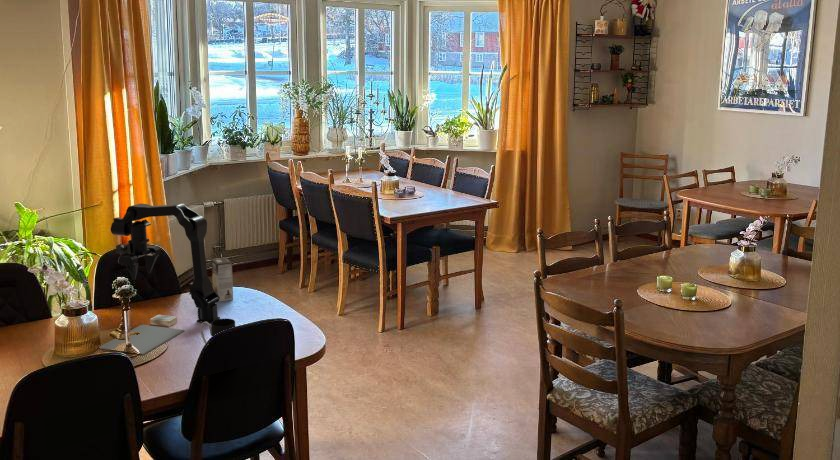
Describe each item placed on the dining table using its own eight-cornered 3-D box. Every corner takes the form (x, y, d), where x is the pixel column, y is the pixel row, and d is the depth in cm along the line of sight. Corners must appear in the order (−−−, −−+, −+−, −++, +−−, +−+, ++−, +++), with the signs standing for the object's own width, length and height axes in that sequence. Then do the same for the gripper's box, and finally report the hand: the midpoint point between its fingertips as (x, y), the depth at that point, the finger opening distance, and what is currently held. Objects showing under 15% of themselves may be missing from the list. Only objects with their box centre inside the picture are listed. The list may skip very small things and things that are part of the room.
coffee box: (212, 295, 323) (210, 258, 320) (227, 293, 327) (225, 256, 323) (218, 302, 316) (216, 264, 312) (234, 299, 319) (232, 262, 315)
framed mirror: (177, 323, 292) (176, 316, 291) (169, 327, 287) (168, 320, 287) (158, 320, 294) (158, 314, 294) (150, 325, 290) (150, 318, 289)
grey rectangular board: (184, 331, 283) (184, 329, 283) (143, 355, 260) (143, 353, 260) (141, 325, 288) (141, 324, 288) (98, 348, 265) (98, 347, 265)
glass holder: (226, 373, 246) (223, 328, 243) (193, 364, 253) (190, 321, 250) (244, 364, 254) (242, 320, 250) (212, 355, 261) (210, 313, 257)
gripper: (136, 230, 306) (138, 268, 310) (104, 240, 289) (107, 281, 292) (160, 232, 303) (163, 270, 307) (130, 243, 286) (133, 283, 289)
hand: (141, 276), depth 299 cm, fingers open, 9 cm apart
